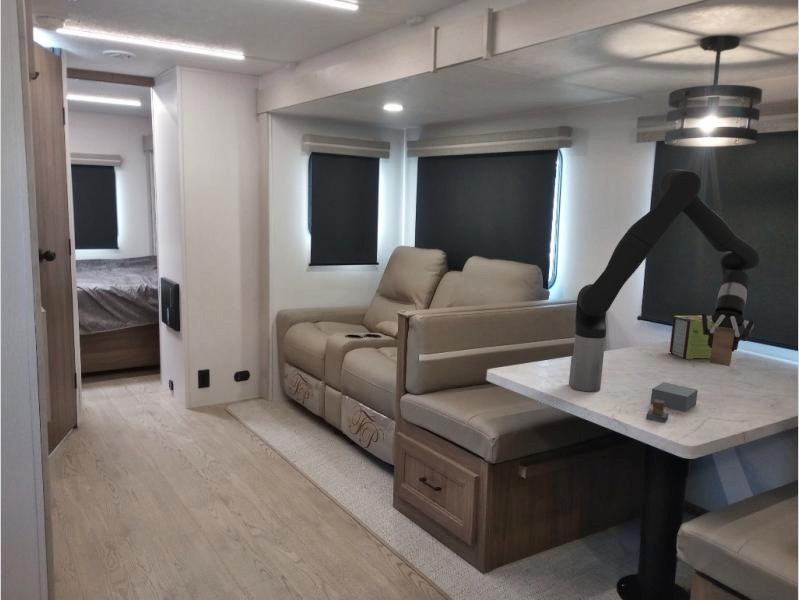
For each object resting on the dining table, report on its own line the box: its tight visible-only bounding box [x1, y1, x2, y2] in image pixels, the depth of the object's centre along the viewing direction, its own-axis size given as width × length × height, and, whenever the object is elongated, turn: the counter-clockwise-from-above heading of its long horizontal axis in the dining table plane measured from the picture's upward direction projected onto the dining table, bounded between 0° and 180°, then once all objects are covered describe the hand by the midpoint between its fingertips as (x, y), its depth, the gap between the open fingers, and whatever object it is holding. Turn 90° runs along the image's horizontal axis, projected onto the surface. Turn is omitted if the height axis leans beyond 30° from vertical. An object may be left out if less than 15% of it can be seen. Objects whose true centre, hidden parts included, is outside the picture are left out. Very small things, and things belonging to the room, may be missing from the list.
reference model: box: [645, 399, 669, 424], centre depth 172 cm, size 5×5×5 cm
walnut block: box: [709, 327, 735, 367], centre depth 177 cm, size 5×5×10 cm
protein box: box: [669, 315, 714, 360], centre depth 246 cm, size 10×15×16 cm
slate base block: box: [650, 381, 699, 413], centre depth 185 cm, size 10×10×5 cm
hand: (721, 348), depth 175 cm, fingers closed on walnut block, 5 cm apart
